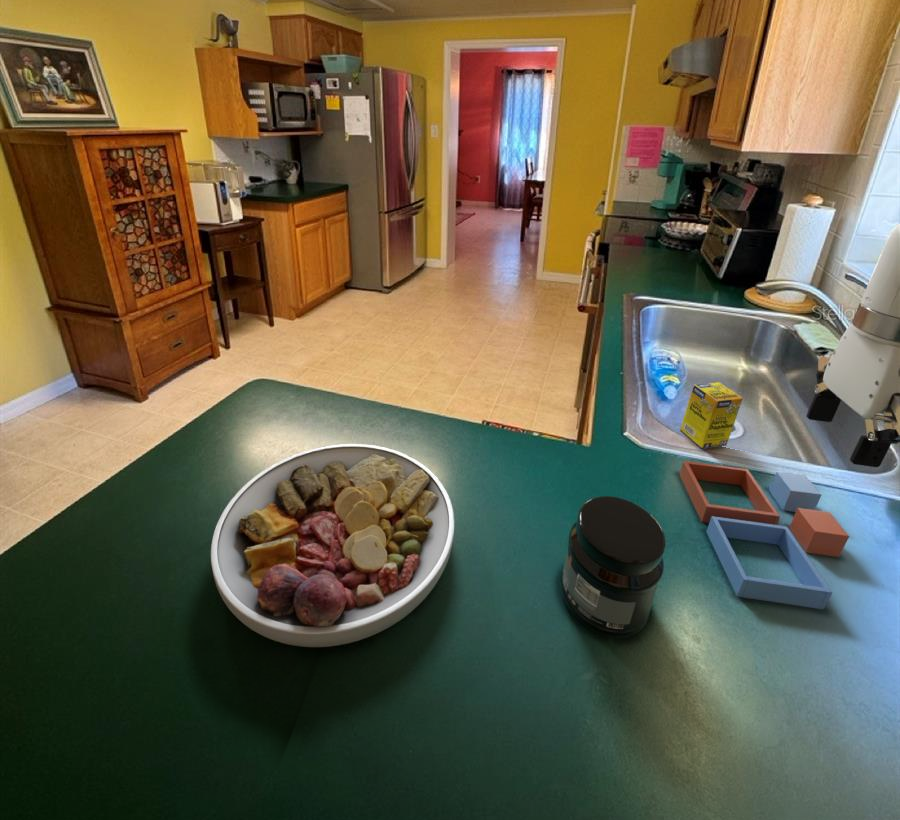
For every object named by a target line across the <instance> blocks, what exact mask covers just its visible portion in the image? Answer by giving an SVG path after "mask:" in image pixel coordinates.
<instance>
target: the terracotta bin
mask: <svg viewBox="0 0 900 820" xmlns="http://www.w3.org/2000/svg"><path fill="white" fill-rule="evenodd" d="M679 477H680V480H681V481H682V484H683V486H684V488H685V490H686V492H687V494H688V497H689V498H690V500H691V503H692V505H693V507H694V509H695V511H696V513H697V515H698V517H699V519H700V521H701V522H702V523H708V524H709V523H710V520H711V517H712V516H714V517H721V518H728V519H736V520H743V521H750V522H758V523H765V524H772V525H778V524H779V520H780V518H781V515H780V514H779V512H778V511H777V510H776V508H775V507H774V505H773V504H772V502H771V501H770V499H769V498H768V496H767V495H766V493H765V492H764V490H763V488H762V487H761V486H760V485H759V483H758V481H757V479H755V477H754V476H753V474H752V473H751V472H750V470H749V469H748V468H741V467H735V466H728V465H727V466H725V465H720V464H719V465H718V464H710V463H703V462H695V461H688V460H683V462H682V465H681V469H680V472H679ZM698 480H699V481H706V482H713V483H714V482H715V483H722V484H728V485H729V484H730V485H736V486H740V487H741V488H742V489H743V491H744V493H745V495H746V496H747V497H748V500H749V501H750V502H751V504H752V505H753V507H754V509H747V508H740V507H735V506H734V507H733V506H725V505H717V504H711V503H709V500H708V499H707V497H706V495H705V493H704V491H703V488H702V487H701V485H700V483H699V482H698Z"/></svg>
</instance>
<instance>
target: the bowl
mask: <svg viewBox="0 0 900 820" xmlns="http://www.w3.org/2000/svg"><path fill="white" fill-rule="evenodd" d="M454 535H455V514H454V508H453V503H452V501H451V498H450V496H449V493H448V492H447V490H446V488H445V486H444V485H443V483H442V482H441V481H440V479H439V478H438V477H437V476H436V475H435V474H434V473H433V471H432V470H431V469H429V468H428V467H427V466H425V465H424V464H423V463H422V462H420V461H418V460H417V459H415V458H414V457H412V456H409V455H407V454H405V453H403V452H400V451H398V450H395V449H392V448H388V447H383V446H380V445H373V444H366V443H365V444H364V443H340V444H331V445H326V446H325V445H324V446H320V447H314V448H312V449H311V448H310V449H308V450H304V451H301V452H298V453H295V454H292V455H290V456H288V457H286V458H283V459H282V460H280V461H277V462H276V463H274V464H271V465H270V466H268V467H267V468H265V469H263V471H261V472H259V473H258V474H256V475H255V476H254V477H252V478H251V479H250V480H249V481H248V482H246V483H245V484H244V485H242V487H241V488H240V489H239V490H238V491H237V492H236V493H235V495H233V497H232V498H231V499H230V501H229V502H228V503H227V505H226V506H225V508H224V510H223V511H222V513H221V515H220V517H219V519H218V521H217V523H216V526H215V528H214V531H213V535H212V540H211V546H210V564H211V569H212V570H211V571H212V576H213V579H214V583H215V586H216V589H217V591H218V593H219V595H220V598H221V600H222V601H223V602H224V604H225V605H226V607H227V608H228V610H229V611H230V612H231V614H233V616H234V617H236V618H237V619H238V620H239V621H240V622H241V623H242V624H243V625H244V626H246V627H247V628H249V629H250V630H251V631H254V632H255V633H257V634H258V635H261V636H263V637H264V638H267V639H269V640H272V641H274V642H278V643H281V644H284V645H288V646H289V645H290V646H295V647H303V648H327V647H328V648H329V647H335V646H341V645H347V644H352V643H355V642H358V641H361V640H364V639H368V638H369V637H372V636H374V635H376V634H379V633H381V632H383V631H385V630H387V629H389V628H390V627H392V626H394V625H395V624H397V623H398V622H400V621H401V620H403V619H404V618H405V617H407V616H408V615H409V614H411V613H412V612H413V611H414V610H415V609H416V608H417V607H419V605H420V604H421V603H423V601H424V600H425V599H426V598H427V597H428V595H430V593H431V592H432V590H433V589H434V588H435V586H436V585H437V583H438V582H439V580H440V578H441V577H442V575H443V573H444V571H445V569H446V566H447V564H448V562H449V558H450V556H451V552H452V549H453V543H454V538H455V537H454Z"/></svg>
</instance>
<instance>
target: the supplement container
mask: <svg viewBox="0 0 900 820" xmlns="http://www.w3.org/2000/svg"><path fill="white" fill-rule="evenodd" d="M666 541H667V540H666V536H665V531H664V530H663V528H662V526H661V525H660V523H659V522H658V521H657V519H656V517H655V518H654V516H653V515H652V514H651V513H649V512H648V511H647V510H646V509H644V508H643V507H642V506H640V505H638V504H636V503H634V502H632V501H630V500H627V499H624V498H621V497H617V496H608V495H603V496H602V495H601V496H596V497H593V498H591V499H588V500H587V501H585V502H584V503H583V504H582V505H581V506H580V508H579V511H578V514H577V519H576V521H575V522H574V524H573V525H572V527H571V528H570V531H569V535H568V544H567V549H566V555H565V559H564V565H563V569H562V571H561V576H560V592H561V595H562V596H561V597H562V598H563V601H564V604H565V605H566V607H567V609H568V611H569V612H570V613H571V614H572V616H573V617H574V618H575V619H576V620H577V621H578V622H579V623H580V624H582V625H583V626H584V627H586V628H587V629H588V630H590V631H592V632H594V633H596V634H597V635H599V636H600V635H601V636H604V637H608V638H613V639H623V638H628V637H631V636H634V635H636V634H637V633H639V632H640V631H641V630H642V629H643V628H644V627H645V625H646V624H647V622H648V620H649V618H650V613H651V609H652V608H651V607H652V604H653V601H654V598H655V595H656V592H657V589H658V586H659V583H660V582H661V580H662V577H663V574H664V569H665V562H664V553H665V550H666V547H667V543H666Z"/></svg>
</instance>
